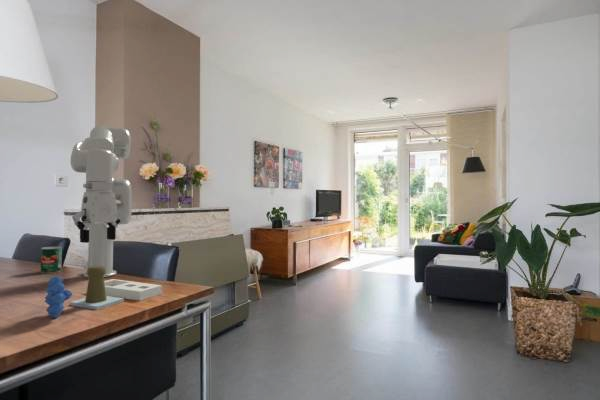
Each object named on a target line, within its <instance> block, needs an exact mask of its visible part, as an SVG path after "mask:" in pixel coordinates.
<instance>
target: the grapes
mask: <svg viewBox="0 0 600 400" xmlns="http://www.w3.org/2000/svg"><path fill="white" fill-rule="evenodd" d="M63 282H64V279H63V277H60V276H58V275H56V276H55V275H54V276H53V277H51V278H49V279H48V281H47V283H46V284H47V286H48V287H46V289H45V290H44V291H45V292H46V296H45V297H44V299H45V300H44V303H46V304H47V305H48V307H47V308H46V310H45V311H46V312H47V314H48V315H49V316H50V317H51V318H52V319H53V318H54V319H55V318H58V317H59V316H60V315H61V314H62V312H63V310H64V309H65V306H64V305H63V304H64V303H65V301H67V300H69V299H70V298H71V297H72V296H73V292H72V291H71V290H69V289H65V288H66V285H65V284H64V283H63Z"/></svg>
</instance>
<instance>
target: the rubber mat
mask: <svg viewBox="0 0 600 400" xmlns="http://www.w3.org/2000/svg"><path fill="white" fill-rule="evenodd" d="M85 299H86V297H82V298H80V299H75V300H72V301H69V306H73V307H78V308H79V307H80V308H84V309H89V310H96V311H98V310H101V309H105V308H107V307H111V306H114V305H117V304H120V303H123V302H125V298H119V297H113V296H106V299H107V300H105V301H103V302H98V303H86V302H85Z"/></svg>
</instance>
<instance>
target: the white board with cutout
mask: <svg viewBox="0 0 600 400" xmlns="http://www.w3.org/2000/svg"><path fill="white" fill-rule="evenodd" d="M104 283H105V291H106V296H111V297H117V298H124V299H126V300H133V301H144V300H146V299H147V300H148V299H150V298H153V297H156V296H159V295H162V294H163V285H161V284H153V283H147V282H138V281H131V280H122V279H115V278H111V279H107V280H104Z"/></svg>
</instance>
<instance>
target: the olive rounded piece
mask: <svg viewBox="0 0 600 400" xmlns="http://www.w3.org/2000/svg"><path fill="white" fill-rule="evenodd" d="M86 272H87V274H88V276H89V278H88V282H87V288H86V294H85V298H86V299H85V302H86V303H98V302H103V301H105V300H107V299H106V291H105V283H104V281H105V277H104V275H105V272H106V270H105V268H104V267H103V266H92V267H90V268H88V270H87V269H86Z"/></svg>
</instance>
